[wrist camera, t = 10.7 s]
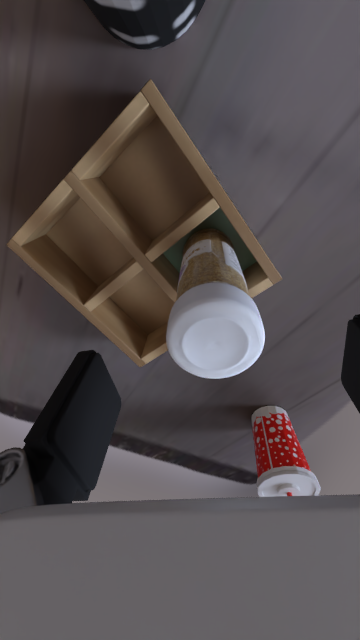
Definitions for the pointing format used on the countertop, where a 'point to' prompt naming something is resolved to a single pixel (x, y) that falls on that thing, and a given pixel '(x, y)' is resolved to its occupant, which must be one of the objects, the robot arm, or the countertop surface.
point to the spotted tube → (146, 20)
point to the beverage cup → (280, 456)
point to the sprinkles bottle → (213, 311)
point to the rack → (134, 227)
